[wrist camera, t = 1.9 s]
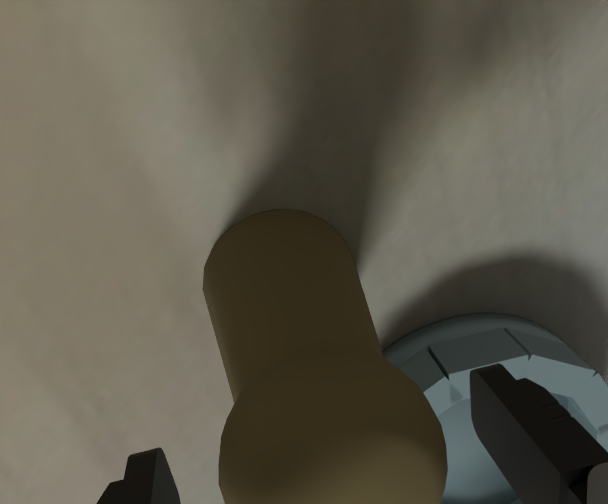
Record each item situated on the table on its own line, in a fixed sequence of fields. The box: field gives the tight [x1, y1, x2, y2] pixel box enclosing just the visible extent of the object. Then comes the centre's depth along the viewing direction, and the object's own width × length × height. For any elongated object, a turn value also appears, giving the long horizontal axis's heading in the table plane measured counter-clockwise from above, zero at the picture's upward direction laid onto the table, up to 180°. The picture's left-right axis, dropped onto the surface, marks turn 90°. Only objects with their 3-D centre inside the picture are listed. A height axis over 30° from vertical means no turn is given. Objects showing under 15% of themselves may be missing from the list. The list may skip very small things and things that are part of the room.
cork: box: [203, 209, 448, 504], centre depth 15 cm, size 6×6×11 cm
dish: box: [382, 313, 608, 504], centre depth 24 cm, size 13×13×3 cm
